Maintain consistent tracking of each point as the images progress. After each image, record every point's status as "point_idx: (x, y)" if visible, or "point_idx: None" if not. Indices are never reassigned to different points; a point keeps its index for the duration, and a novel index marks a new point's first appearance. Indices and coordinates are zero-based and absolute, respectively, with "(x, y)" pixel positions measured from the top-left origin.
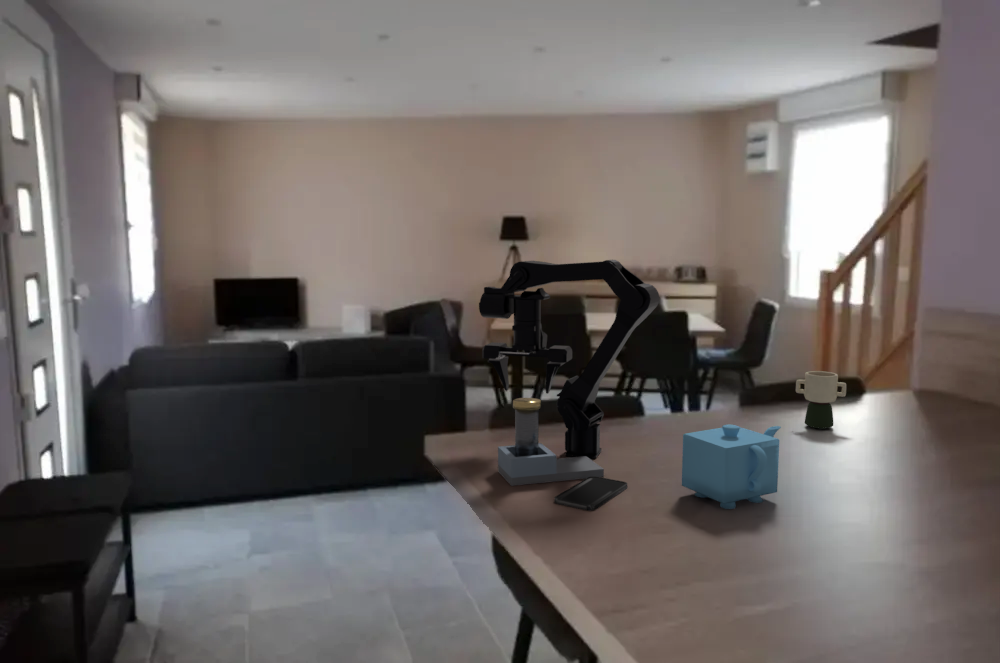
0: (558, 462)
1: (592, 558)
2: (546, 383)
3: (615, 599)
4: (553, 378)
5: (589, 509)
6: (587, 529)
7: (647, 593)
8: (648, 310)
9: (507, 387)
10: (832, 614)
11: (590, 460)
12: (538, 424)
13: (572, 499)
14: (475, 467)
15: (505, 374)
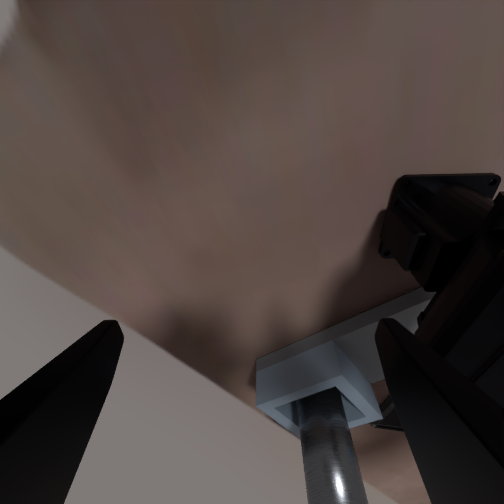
0: (371, 342)
1: (409, 478)
2: (406, 421)
3: (420, 500)
4: (489, 410)
5: None
6: (408, 452)
7: None
8: None
9: (113, 345)
10: None
11: None
12: (361, 478)
13: (395, 421)
14: (207, 352)
15: (56, 454)
